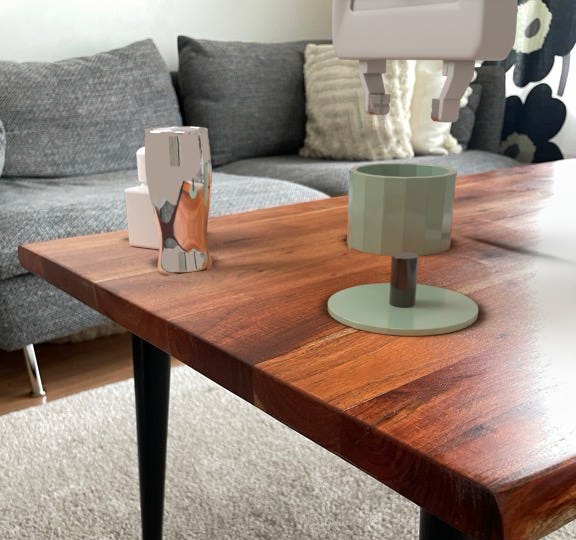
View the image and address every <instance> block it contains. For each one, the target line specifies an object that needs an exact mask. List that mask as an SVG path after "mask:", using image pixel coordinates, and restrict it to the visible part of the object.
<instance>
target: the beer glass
mask: <svg viewBox="0 0 576 540" xmlns="http://www.w3.org/2000/svg"><path fill="white" fill-rule="evenodd" d="M143 130H144V146H145V168H146V179H147V186H148V191H149V196H150V200H151V204H152V208H153V212H154V216H155V220H156V224H157V228H158V234H159V249H158V260H157V271H158V273H159V274H161V275H163V276H167V277H170V276H178V275H183V274H192V273H197V272H204V271H211V270H213V263H212V258H211V254H210V250H209V249H210V248H209V243H208V226H209V225H208V224H209V215H210V209H211V200H212V199H211V198H212V189H213V188H212V185H213V170H212V169H213V168H212V156H211V155H212V154H211V148H210V147H211V146H210V140H209V129H208V128H207V127H202V126H190V125H189V126H188V125H186V126H182V125H181V126H179V125H178V126H177V125H176V126H157V127H149V128H146V129H145V128H144V129H143Z"/></svg>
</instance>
